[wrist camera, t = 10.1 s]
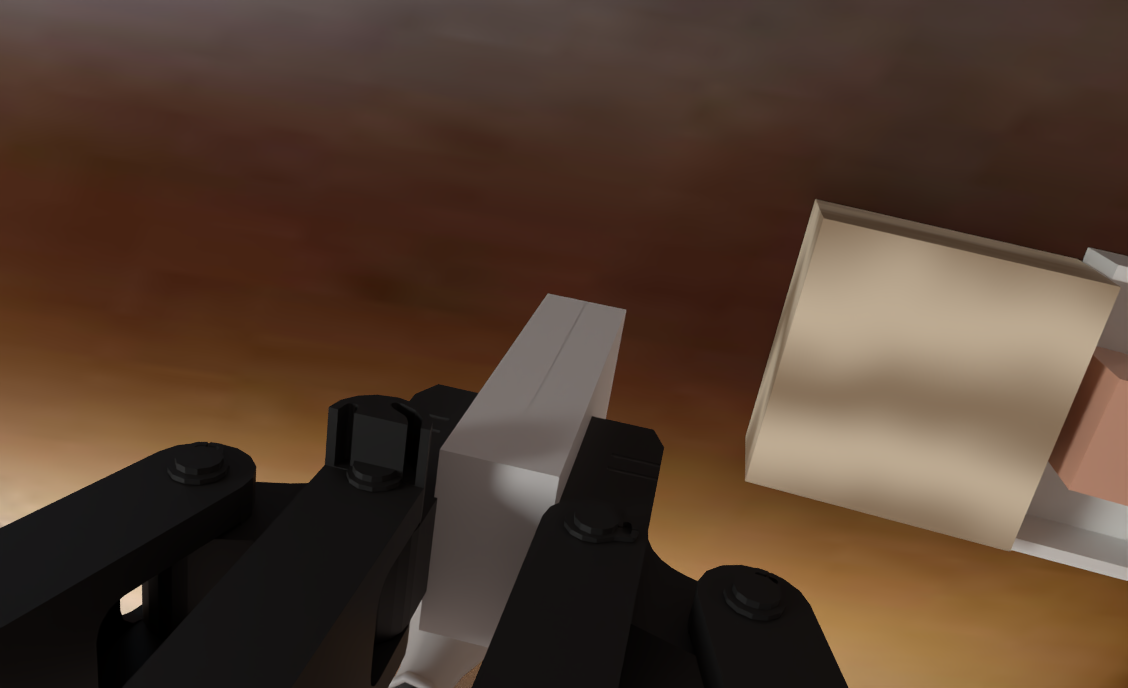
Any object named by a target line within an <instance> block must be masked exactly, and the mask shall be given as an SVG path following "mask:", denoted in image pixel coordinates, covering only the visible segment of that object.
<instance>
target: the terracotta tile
mask: <svg viewBox="0 0 1128 688" xmlns="http://www.w3.org/2000/svg"><path fill="white" fill-rule="evenodd" d="M1048 462H1049V463H1050V465H1051V466H1052V467H1053V469H1054V470H1055V471H1056V473H1057V474H1058V476H1059V477H1060V478H1061V480H1062V481H1063V483H1064V484H1065V485H1066V487H1067V488H1068V490H1072V491H1075V492H1079V493H1082V494H1086V495H1090V496H1093V497H1097V498H1100V499H1104V500H1107V501H1111V502H1115V503H1118V504H1122V505H1125V506H1128V354H1125V353H1121V352H1117V351H1113V350H1110V349H1106V348H1102V347H1098V346H1096V348H1095V351H1094V353H1093V355H1092V358H1091V360H1090V362H1089V365H1088V367H1087V370H1086V372H1085V374H1084V377H1083V379H1082V381H1081V384H1080V386H1079V389H1078V391H1077V393H1076V396H1075V398H1074V401H1073V403H1072V405H1071V408H1070V410H1069V412H1068V415H1067V417H1066V420H1065V422H1064V424H1063V427H1062V429H1061V431H1060V434H1059V436H1058V439H1057V441H1056V443H1055V446H1054V448H1053V451H1052V453H1051V455H1050V458H1049V460H1048Z"/></svg>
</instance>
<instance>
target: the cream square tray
mask: <svg viewBox="0 0 1128 688" xmlns="http://www.w3.org/2000/svg"><path fill="white" fill-rule="evenodd" d="M1120 289H1121V287H1120V286H1119V285H1117V284H1116V283H1114V282H1113V281H1111V280H1109V279H1108V278H1106V277H1105V276H1103V275H1102V274H1100V273H1099V272H1097V271H1096V270H1094V269H1092V268H1091V267H1089V266H1088V265H1086V264H1085V263H1083V262H1082V261H1080V260H1079V259H1075V258H1070V257H1066V256H1062V255H1057V254H1053V253H1049V252H1044V251H1040V250H1036V249H1031V248H1027V247H1022V246H1018V245H1014V244H1009V243H1005V242H1001V241H996V240H992V239H988V238H983V237H979V236H974V235H970V234H966V233H961V232H957V231H953V230H948V229H944V228H940V227H935V226H931V225H926V224H922V223H918V222H913V221H909V220H905V219H900V218H896V217H892V216H887V215H883V214H878V213H874V212H870V211H865V210H861V209H857V208H852V207H848V206H844V205H839V204H835V203H831V202H826V201H822V200H817V199H815V202H814V206H813V209H812V212H811V216H810V219H809V223H808V226H807V229H806V233H805V236H804V240H803V243H802V246H801V250H800V253H799V257H798V260H797V263H796V267H795V270H794V274H793V277H792V280H791V284H790V287H789V291H788V294H787V297H786V301H785V304H784V308H783V311H782V315H781V318H780V321H779V325H778V328H777V332H776V335H775V338H774V342H773V345H772V349H771V352H770V355H769V359H768V362H767V366H766V369H765V372H764V376H763V379H762V383H761V386H760V389H759V393H758V396H757V400H756V403H755V406H754V410H753V413H752V417H751V420H750V424H749V427H748V430H747V434H746V451H745V481H747V482H751V483H755V484H758V485H762V486H766V487H770V488H773V489H777V490H781V491H785V492H788V493H792V494H796V495H800V496H803V497H807V498H811V499H815V500H818V501H822V502H826V503H830V504H833V505H837V506H841V507H845V508H848V509H852V510H856V511H860V512H863V513H867V514H871V515H875V516H878V517H882V518H886V519H890V520H893V521H897V522H901V523H905V524H908V525H912V526H916V527H920V528H923V529H927V530H931V531H935V532H938V533H942V534H946V535H950V536H953V537H957V538H961V539H965V540H968V541H972V542H976V543H980V544H983V545H987V546H991V547H995V548H998V549H1002V550H1006V551H1011V548H1012V546H1013V543H1014V541H1015V539H1016V536H1017V534H1018V531H1019V529H1020V527H1021V524H1022V522H1023V520H1024V517H1025V515H1026V512H1027V510H1028V508H1029V505H1030V503H1031V501H1032V498H1033V496H1034V493H1035V491H1036V489H1037V486H1038V484H1039V481H1040V479H1041V477H1042V474H1043V472H1044V470H1045V467H1046V465H1047V462H1048V460H1049V458H1050V455H1051V453H1052V451H1053V448H1054V446H1055V443H1056V441H1057V439H1058V436H1059V434H1060V431H1061V429H1062V427H1063V424H1064V422H1065V420H1066V417H1067V415H1068V412H1069V410H1070V408H1071V405H1072V403H1073V401H1074V398H1075V396H1076V393H1077V391H1078V389H1079V386H1080V384H1081V381H1082V379H1083V377H1084V374H1085V372H1086V370H1087V367H1088V365H1089V362H1090V360H1091V358H1092V355H1093V353H1094V351H1095V348H1096V346H1097V343H1098V341H1099V339H1100V336H1101V334H1102V332H1103V329H1104V327H1105V324H1106V322H1107V320H1108V317H1109V315H1110V312H1111V310H1112V308H1113V305H1114V303H1115V301H1116V298H1117V296H1118V293H1119V291H1120Z"/></svg>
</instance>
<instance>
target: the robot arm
mask: <svg viewBox="0 0 1128 688" xmlns="http://www.w3.org/2000/svg"><path fill="white" fill-rule="evenodd" d="M625 314H626V310H624V309H620V308H615V307H610V306H605V305H600V304H596V303H591V302H586V301H581V300H576V299H572V298H567V297H562V296H557V295H552V294H547V296H546V297H545V298H544V300H543V301H542V303H541V304H540V306H539V307H538V309H537V310H536V311H535V313H534V314H533V316H532V317H531V319H530V320H529V322H528V323H527V324H526V326H525V327H524V329H523V330H522V332H521V333H520V334H519V336H518V337H517V339H516V340H515V342H514V343H513V345H512V346H511V347H510V349H509V350H508V352H507V353H506V355H505V356H504V358H503V359H502V360H501V362H500V363H499V365H498V366H497V368H496V369H495V371H494V372H493V373H492V375H491V376H490V378H489V379H488V381H487V382H486V384H485V385H484V386H483V388H482V389H481V391H480V392H479V393H475V392H471V391H466V390H462V389H457V388H453V387H448V386H444V385H439V384H438V385H436V386H433V387H431V388H429V389H426V390H424V391H421V392H419V393H417V394H415V395H414V396H413V398H412V399H411V400H410V401H407V400H404V399H401V398H397V397H390V396H382V395H363V396H355V397H351V398H347V399H343V400H340V401H338V402H337V403H335V404H333V405H332V406H330V407H329V413H328V428H327V443H326V458H325V465H324V467H323V468H322V469H321V470H320V471H319V472H318V473H317V474H316V475H315V476H314V478H313V479H312V480H311V481H310V482H309V483H292V484H289V483H268V482H256V465H255V463H254V462H253V460H252V458H251V456H249V455H248V454H246V453H244V452H243V451H241V450H239V449H238V448H234V447H230V446H226V445H222V444H220V443H212V442H210V443H208V442H195V443H192V444H184V445H177V446H174V447H171V448H168V449H165V450H162V451H159V452H157V453H155V454H153V455H151V456H148V457H146V458H144V459H142V460H140V461H138V462H136V463H134V464H132V465H130V466H128V467H126V468H124V469H122V470H120V471H117V472H115V473H113V474H111V475H109V476H107V477H105V478H103V479H101V480H99V481H97V482H95V483H93V484H91V485H89V486H87V487H84V488H82V489H80V490H78V491H76V492H74V493H72V494H70V495H68V496H66V497H64V498H62V499H60V500H58V501H56V502H54V503H51V504H49V505H47V506H45V507H43V508H41V509H39V510H37V511H35V512H33V513H31V514H29V515H27V516H25V517H23V518H21V519H18V520H16V521H14V522H12V523H10V524H8V525H6V526H4V527H2V528H0V688H388V687H389V685H390V683H391V681H392V679H393V677H394V676H395V674H396V672H397V670H398V668H399V666H400V664H401V662H402V660H403V658H404V656H405V654H406V649H407V644H408V637H409V628H410V620H411V618H412V617H413V615H414V613H415V611H416V609H417V608H418V606H419V604H420V602H421V600H422V605H421V614H420V622H419V630H421V631H425V632H429V633H433V634H437V635H441V636H445V637H448V638H452V639H456V640H460V641H464V642H468V643H472V644H476V645H480V646H484V647H488V650H487V652H486V654H485V657H484V659H483V662H482V664H481V667H480V669H479V671H478V674H477V676H476V679H475V681H474V684H473V686H472V688H848V686H847V684H846V681H845V679H844V677H843V675H842V673H841V671H840V668H839V666H838V664H837V662H836V660H835V658H834V655H833V653H832V651H831V649H830V647H829V645H828V642H827V640H826V638H825V636H824V634H823V632H822V629H821V627H820V625H819V623H818V621H817V619H816V616H815V614H814V612H813V610H812V608H811V606H810V604H809V603H808V601H807V600H806V599H805V597H804V596H803V595H802V593H801V592H800V591H799V590H798V589H796V588H795V587H794V586H792V585H791V584H790V583H788V582H787V581H786V580H784V579H783V578H780V577H778V576H777V575H775V574H773V573H769V572H768V571H765V570H762V569H759V568H753V567H748V566H743V565H722V566H719V567H716V568H713V569H711V570H708V571H706V572H705V573H704V575H703V576H702V577H701V578H700V579H699V580H698V581H696V580H694V579H692V578H690V577H687V576H685V575H684V574H682V573H680V572H678V571H676V570H675V569H673V568H671V567H670V566H669V565H667V564H666V563H665V562H664V561H662V560H661V559H660V558H659V557H658V555H657V554H656V553H655V552H654V551H653V549H652V547H651V545H650V543H649V540H648V528H649V523H650V517H651V512H652V507H653V502H654V497H655V491H656V486H657V481H658V476H659V471H660V465H661V460H662V455H663V450H664V447H663V445H662V443H661V442H660V440H659V438H658V436H657V435H656V433H655V431H654V430H652V429H648V428H643V427H639V426H634V425H630V424H625V423H621V422H616V421H612V420H607V419H606V414H607V409H608V404H609V399H610V393H611V388H612V383H613V377H614V372H615V367H616V362H617V356H618V351H619V346H620V341H621V335H622V330H623V325H624V320H625ZM140 585H142V605H141V606H139V607H138V608H136V609H135V610H133V611H131V612H129V613H127V614H124V615H122V614H121V611H120V599H121V598H122V597H123V596H124V595H126V594H127V593H129V592H131V591H132V590H134V589H135V588H137V587H139V586H140Z"/></svg>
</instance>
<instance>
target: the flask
mask: <svg viewBox="0 0 1128 688" xmlns="http://www.w3.org/2000/svg"><path fill="white" fill-rule="evenodd" d="M421 605H422V600H421V602H420V604H419V606H418V608H417V609H416V611H415V613H414V615H413V617H412V618H411V620H410V628H409V637H408V644H407V649H406V654H405V656H404V658H403V660H402V662H401V666H400V668H399V670H398V672H397V674H396V676H395V677H393V679H392V681H391V683H390V685H389V687H388V688H454V687H455V685H456V684H457V683H458V682H459V680H460V679H461V678H462V677H463V676H464V675H465V674H467V673H468V672H469V671H470V670H472V669H473V668H474V667H475V666H476V665H478V664H479V663H480V662H481V661H483V659H484V657H485V654H486V652H487V650H488V647H484V646H480V645H476V644H472V643H468V642H464V641H460V640H456V639H452V638H448V637H445V636H441V635H437V634H433V633H429V632H425V631H421V630H419V622H420V614H421Z"/></svg>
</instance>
